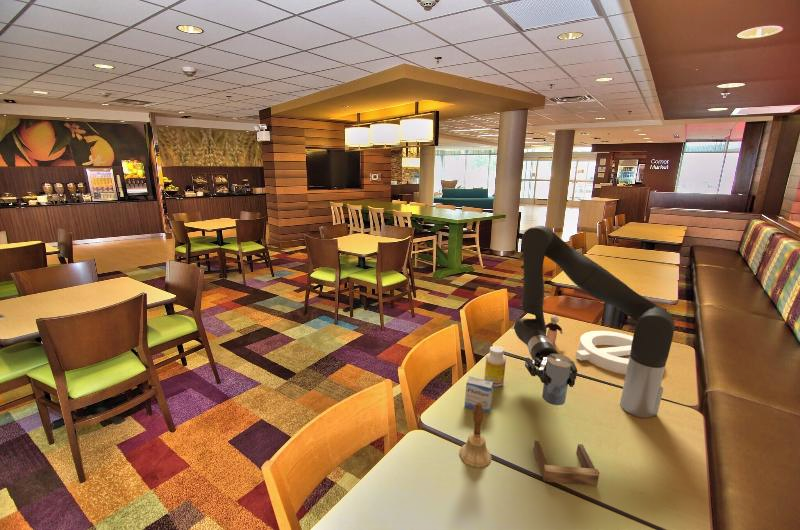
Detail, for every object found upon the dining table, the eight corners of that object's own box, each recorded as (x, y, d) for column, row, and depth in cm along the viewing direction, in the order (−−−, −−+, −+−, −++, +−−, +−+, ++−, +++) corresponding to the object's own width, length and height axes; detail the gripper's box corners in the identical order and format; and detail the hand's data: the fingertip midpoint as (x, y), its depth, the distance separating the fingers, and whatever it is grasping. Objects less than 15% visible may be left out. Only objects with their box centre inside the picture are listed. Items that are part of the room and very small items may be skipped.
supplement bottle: (504, 388, 128) (507, 354, 124) (484, 386, 129) (487, 352, 125) (502, 377, 134) (506, 345, 130) (483, 375, 135) (486, 343, 132)
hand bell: (485, 472, 93) (490, 418, 89) (454, 459, 97) (457, 406, 93) (495, 451, 100) (500, 400, 96) (466, 439, 104) (470, 389, 100)
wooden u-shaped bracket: (580, 453, 100) (583, 441, 99) (596, 485, 90) (599, 472, 89) (533, 450, 101) (534, 438, 100) (544, 481, 91) (545, 468, 90)
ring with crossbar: (658, 352, 154) (660, 342, 153) (659, 385, 132) (661, 373, 130) (583, 334, 169) (585, 325, 168) (573, 361, 146) (575, 350, 145)
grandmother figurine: (541, 343, 160) (545, 316, 156) (541, 339, 163) (545, 312, 159) (561, 347, 157) (565, 319, 153) (561, 343, 160) (565, 315, 157)
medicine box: (464, 406, 118) (465, 382, 116) (467, 398, 122) (468, 375, 120) (489, 413, 115) (491, 388, 113) (491, 404, 119) (494, 381, 117)
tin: (561, 392, 107) (567, 354, 104) (568, 406, 101) (575, 366, 98) (539, 390, 108) (544, 352, 104) (545, 404, 102) (550, 364, 98)
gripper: (520, 339, 116) (533, 369, 100) (568, 342, 114) (589, 372, 98) (517, 361, 118) (530, 393, 102) (565, 364, 117) (585, 397, 100)
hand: (559, 383), depth 100 cm, fingers closed on tin, 6 cm apart
